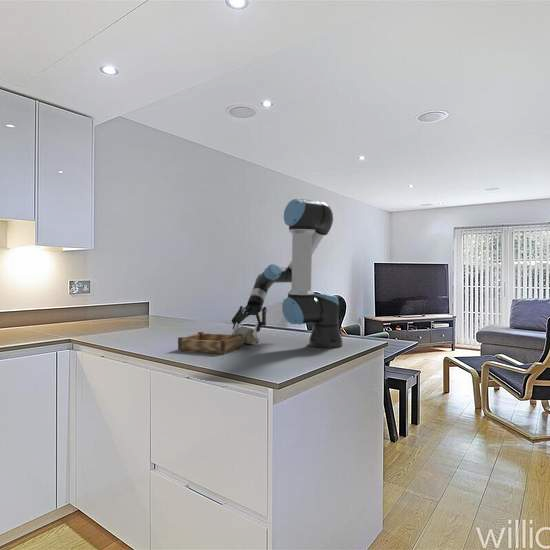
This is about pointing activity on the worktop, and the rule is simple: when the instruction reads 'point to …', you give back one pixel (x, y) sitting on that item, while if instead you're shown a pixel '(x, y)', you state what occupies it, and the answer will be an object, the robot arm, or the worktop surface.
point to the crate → (210, 343)
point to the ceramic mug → (247, 335)
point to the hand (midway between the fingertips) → (243, 335)
